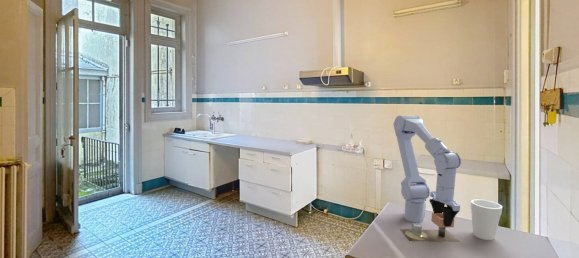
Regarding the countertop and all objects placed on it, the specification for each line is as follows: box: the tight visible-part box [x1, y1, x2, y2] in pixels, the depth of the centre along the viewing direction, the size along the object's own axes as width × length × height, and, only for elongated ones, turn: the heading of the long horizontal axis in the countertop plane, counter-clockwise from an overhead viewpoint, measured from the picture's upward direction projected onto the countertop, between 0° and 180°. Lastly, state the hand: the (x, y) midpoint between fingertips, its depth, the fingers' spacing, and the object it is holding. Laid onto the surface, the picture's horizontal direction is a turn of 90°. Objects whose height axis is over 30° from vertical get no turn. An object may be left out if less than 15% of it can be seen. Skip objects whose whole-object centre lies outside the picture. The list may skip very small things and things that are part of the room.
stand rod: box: [437, 227, 447, 237], centre depth 104 cm, size 2×2×4 cm
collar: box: [431, 212, 455, 228], centre depth 104 cm, size 5×5×3 cm
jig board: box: [399, 228, 461, 243], centre depth 105 cm, size 18×9×1 cm, turn 90°
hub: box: [404, 223, 428, 240], centre depth 104 cm, size 8×8×4 cm
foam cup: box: [470, 198, 503, 241], centre depth 104 cm, size 10×9×13 cm
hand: (442, 222), depth 104 cm, fingers closed on collar, 5 cm apart
